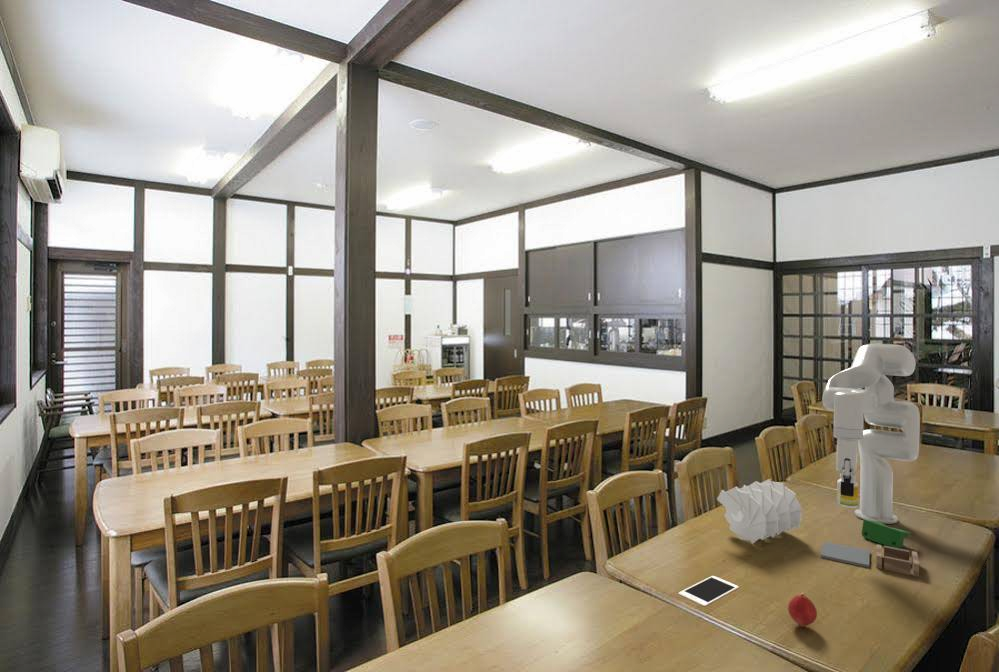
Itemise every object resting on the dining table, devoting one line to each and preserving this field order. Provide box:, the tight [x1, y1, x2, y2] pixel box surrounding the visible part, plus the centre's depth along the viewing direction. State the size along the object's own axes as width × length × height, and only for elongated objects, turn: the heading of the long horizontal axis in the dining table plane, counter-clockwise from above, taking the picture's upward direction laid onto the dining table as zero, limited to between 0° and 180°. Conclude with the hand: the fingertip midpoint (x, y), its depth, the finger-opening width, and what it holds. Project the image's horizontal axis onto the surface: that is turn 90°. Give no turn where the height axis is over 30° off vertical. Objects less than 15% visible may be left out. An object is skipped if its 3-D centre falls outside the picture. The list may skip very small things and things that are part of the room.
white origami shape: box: [716, 478, 803, 545], centre depth 176 cm, size 18×18×25 cm
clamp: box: [861, 519, 911, 549], centre depth 171 cm, size 12×6×9 cm, turn 19°
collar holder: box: [875, 543, 920, 578], centre depth 154 cm, size 10×10×4 cm
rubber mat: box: [820, 540, 871, 569], centre depth 162 cm, size 12×12×1 cm
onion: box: [787, 592, 818, 628], centre depth 125 cm, size 6×6×8 cm
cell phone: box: [678, 575, 740, 607], centre depth 141 cm, size 8×16×1 cm, turn 126°
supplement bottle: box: [836, 471, 859, 509], centre depth 161 cm, size 5×5×10 cm
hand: (847, 492), depth 161 cm, fingers closed on supplement bottle, 5 cm apart
